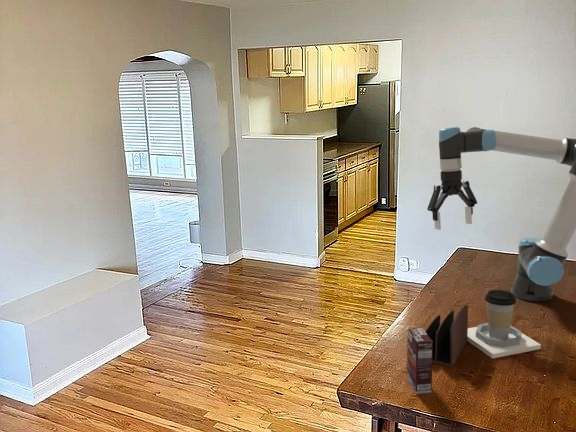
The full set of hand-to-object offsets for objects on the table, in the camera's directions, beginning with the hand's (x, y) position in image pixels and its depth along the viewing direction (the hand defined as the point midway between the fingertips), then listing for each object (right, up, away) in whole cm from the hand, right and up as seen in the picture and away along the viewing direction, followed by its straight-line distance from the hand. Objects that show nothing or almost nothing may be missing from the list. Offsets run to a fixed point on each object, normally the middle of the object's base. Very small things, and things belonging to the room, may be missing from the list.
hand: (453, 226), depth 198 cm
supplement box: (-25, -45, -48) cm, 70 cm away
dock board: (+7, -37, -24) cm, 45 cm away
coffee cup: (+7, -36, -24) cm, 44 cm away
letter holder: (-12, -40, -28) cm, 50 cm away
